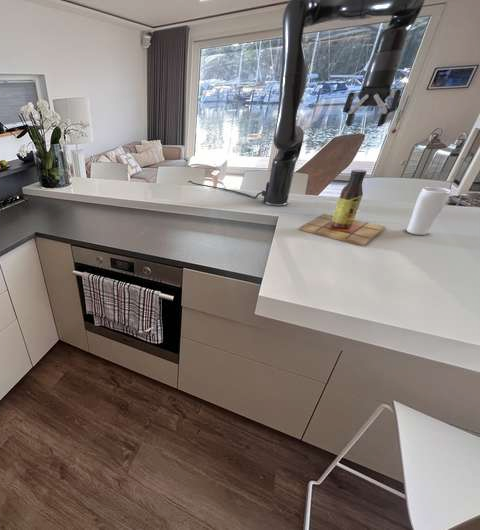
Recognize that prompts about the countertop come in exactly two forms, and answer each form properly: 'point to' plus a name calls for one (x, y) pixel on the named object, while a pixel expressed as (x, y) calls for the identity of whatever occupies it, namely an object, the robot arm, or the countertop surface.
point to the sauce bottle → (349, 200)
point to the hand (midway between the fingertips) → (363, 126)
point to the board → (343, 230)
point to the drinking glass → (427, 209)
